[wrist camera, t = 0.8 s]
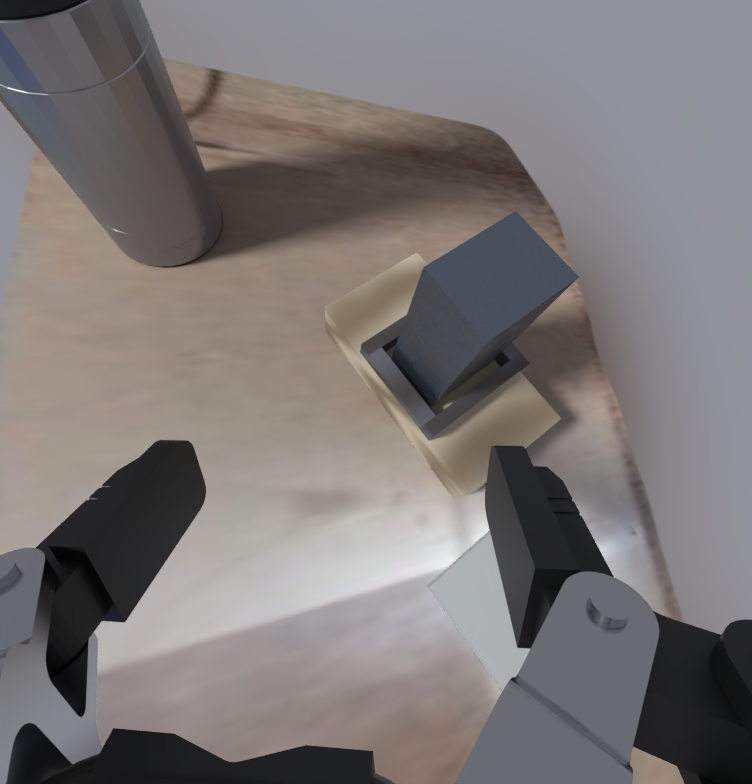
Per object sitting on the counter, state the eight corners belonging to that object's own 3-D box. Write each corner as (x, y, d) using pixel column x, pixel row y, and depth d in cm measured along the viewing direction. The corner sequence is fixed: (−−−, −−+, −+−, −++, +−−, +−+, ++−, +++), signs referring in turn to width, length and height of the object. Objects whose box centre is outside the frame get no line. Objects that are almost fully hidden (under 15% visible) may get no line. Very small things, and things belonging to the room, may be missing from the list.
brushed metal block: (390, 360, 28) (423, 267, 17) (452, 318, 29) (515, 211, 19) (429, 408, 27) (487, 341, 17) (490, 363, 28) (579, 276, 18)
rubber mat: (427, 586, 27) (429, 587, 27) (524, 499, 30) (528, 498, 29) (521, 718, 25) (525, 723, 25) (616, 613, 28) (622, 615, 27)
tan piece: (326, 331, 32) (323, 296, 27) (408, 281, 35) (420, 239, 29) (453, 497, 29) (478, 493, 24) (534, 429, 31) (573, 413, 26)
